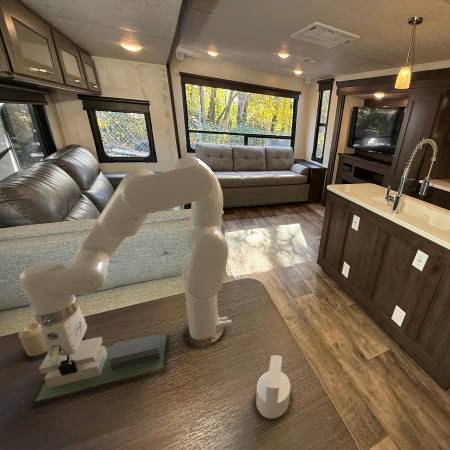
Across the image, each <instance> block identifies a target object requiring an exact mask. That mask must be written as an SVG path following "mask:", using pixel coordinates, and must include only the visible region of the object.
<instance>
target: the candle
mask: <svg viewBox="0 0 450 450" xmlns="http://www.w3.org/2000/svg"><path fill="white" fill-rule="evenodd" d="M18 339H19V341H20V342H21V344H22V346H23V348H24V351H25V352H26V354H27V356H28V357H37V356H39V355H42V354H44V353H45V352H47V349H46V346H45V343H44V340H43V336H42V331H41V325H39V324H38V323H37V322H33V323H31V324H26V325H25V326H24V327H23V328H22V329H21V330H20V332H19V333H18Z"/></svg>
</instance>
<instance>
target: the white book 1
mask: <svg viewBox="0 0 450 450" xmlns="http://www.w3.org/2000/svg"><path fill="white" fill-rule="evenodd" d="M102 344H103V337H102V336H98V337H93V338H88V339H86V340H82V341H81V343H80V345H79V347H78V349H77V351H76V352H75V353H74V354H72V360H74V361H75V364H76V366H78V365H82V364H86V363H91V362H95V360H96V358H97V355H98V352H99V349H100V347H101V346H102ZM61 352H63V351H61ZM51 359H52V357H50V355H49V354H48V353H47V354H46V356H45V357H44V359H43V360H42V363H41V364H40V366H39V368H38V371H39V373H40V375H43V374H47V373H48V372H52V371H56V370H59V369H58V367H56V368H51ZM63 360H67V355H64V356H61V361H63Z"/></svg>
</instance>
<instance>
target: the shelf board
mask: <svg viewBox="0 0 450 450" xmlns="http://www.w3.org/2000/svg"><path fill="white" fill-rule="evenodd" d="M166 337H167V334H160V338H161V343H162V344H161V353H160V358H159V359H155V360H151V361H147V362H143V363H139V364H135V365H131V366H127V367H123V368H119V369H115V370H112V368H111V365H110V362H109V357H110V354H111V351H112V347H113V345H110V346H105V349H106V352H107V356H106V359H105V363H104V366H103V369H102V372H101V375H99V376H95V377H91V378H87V379H83V380H79V381H75V382H71V383H67V384H63V385H59V386H55V387H51V388H48V386H47V383H46V381H45V382H44V383H43V385H42V387H41V390H40V391H39V393H38V394H37V397H36V399H35V403H36V402H40V401H43V400H47V399H51V398H54V397H59V396H63V395H66V394H69V393H74V392H78V391H81V390H85V389H90V388H92V387H97V386H100V385H101V386H102V385H103V384H107V383H112V382H115V381H119V380H123V379H127V378H131V377H135V376H138V375H142V374H145V373H150V372H153V371H156V370H161V369H164V359H165V348H166Z"/></svg>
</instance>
